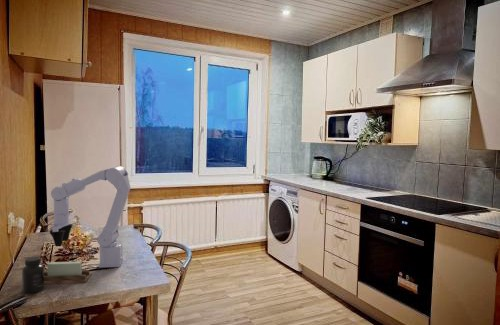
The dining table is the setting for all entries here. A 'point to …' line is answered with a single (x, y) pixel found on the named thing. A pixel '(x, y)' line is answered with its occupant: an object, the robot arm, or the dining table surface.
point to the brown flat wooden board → (67, 278)
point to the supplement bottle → (32, 276)
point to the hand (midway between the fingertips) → (61, 243)
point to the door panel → (64, 268)
